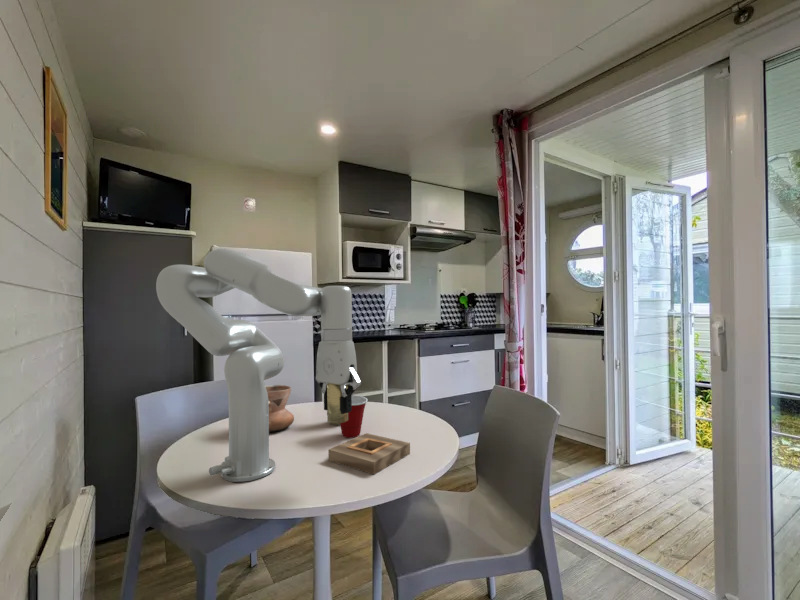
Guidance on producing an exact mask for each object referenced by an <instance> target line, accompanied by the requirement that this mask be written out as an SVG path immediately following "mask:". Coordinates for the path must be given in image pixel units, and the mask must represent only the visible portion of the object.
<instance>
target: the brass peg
mask: <svg viewBox="0 0 800 600" xmlns="http://www.w3.org/2000/svg"><path fill="white" fill-rule="evenodd" d="M345 383H346V382H345ZM345 386H346V389H347V388H348V387H347V385H345ZM341 397H342V392H341V387H340V385H335V384H330V383H327V410H326V416H327V418H326V419H327V420H326V421H327V423H329V424H330V423H343V422H346V421H348V413H345V414H341V410H340V398H341Z"/></svg>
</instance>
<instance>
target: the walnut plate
mask: <svg viewBox="0 0 800 600" xmlns="http://www.w3.org/2000/svg"><path fill="white" fill-rule="evenodd" d="M327 453H328V461H329V462H331V463H335V464H338V465H341V466H346V467H347V468H348V467H349V468H351V469H355V470H358V471H361V472H363V473H364V472H365V473H368V474H371V475H376V474H377V473H380V472H382V471H383V470H384V469H386V468H388V467H390V466H392V465H393V464H395V463H397V462H399V461H400V460H402V459H404V458H405V457H407V456H408V455H410V454H411V442H408V441H403V440H398V439H393V438H389V437H387V436H385V437H384V436H382V435H381V436H380V435H377V434H372V433H369V432H368V433H367V432H366V433H364V434H361V435H359V436H357V437H353V438H352V439H349V440H347V441H345V442H343V443H341V444H337V445H336V446H333V447H331V448H328V452H327Z"/></svg>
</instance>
